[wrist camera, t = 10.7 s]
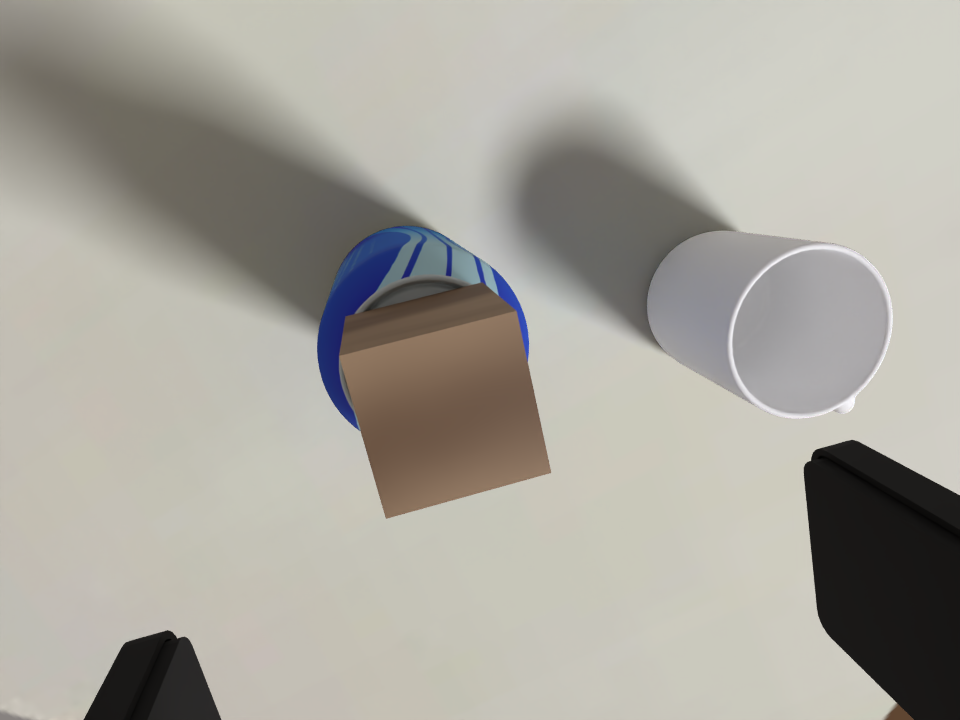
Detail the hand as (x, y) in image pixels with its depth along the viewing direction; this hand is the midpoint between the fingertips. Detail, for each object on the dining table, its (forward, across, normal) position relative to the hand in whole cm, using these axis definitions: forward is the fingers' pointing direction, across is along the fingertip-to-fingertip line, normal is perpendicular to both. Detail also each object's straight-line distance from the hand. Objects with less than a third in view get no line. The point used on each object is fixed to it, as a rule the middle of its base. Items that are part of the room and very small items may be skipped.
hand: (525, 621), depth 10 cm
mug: (+32, -19, +6) cm, 38 cm away
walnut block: (+16, 0, 0) cm, 16 cm away
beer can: (+32, 0, 0) cm, 32 cm away
